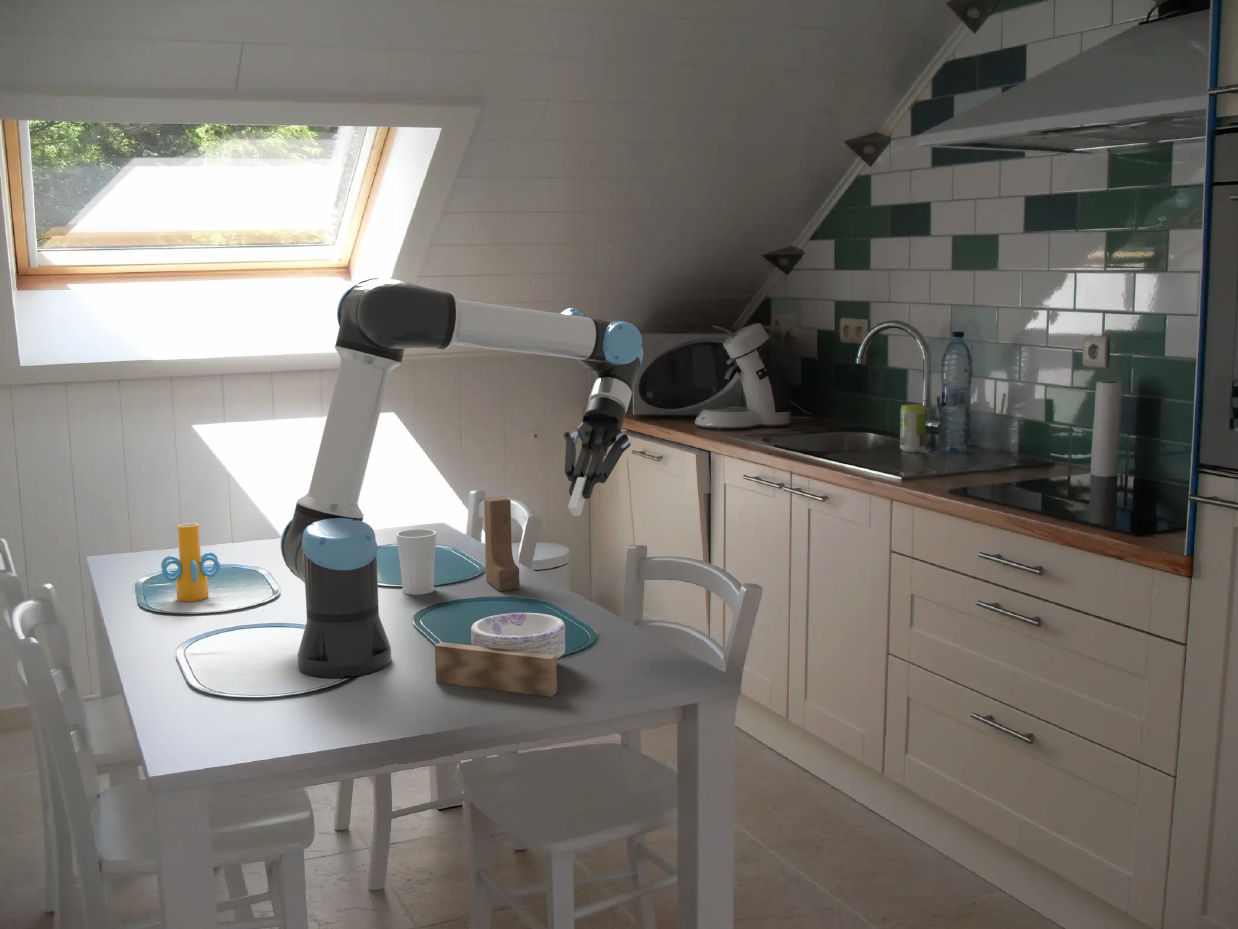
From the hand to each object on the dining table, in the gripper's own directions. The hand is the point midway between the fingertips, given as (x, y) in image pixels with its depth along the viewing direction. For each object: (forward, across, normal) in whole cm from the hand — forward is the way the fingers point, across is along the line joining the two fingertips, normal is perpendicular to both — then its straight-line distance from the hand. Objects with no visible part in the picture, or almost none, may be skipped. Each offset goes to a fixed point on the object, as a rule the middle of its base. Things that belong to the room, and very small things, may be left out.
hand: (574, 511), depth 212 cm
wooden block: (-2, +26, -33) cm, 42 cm away
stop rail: (+38, 0, +7) cm, 38 cm away
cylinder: (+19, +81, -12) cm, 84 cm away
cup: (+5, +41, -27) cm, 49 cm away
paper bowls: (+32, +1, 0) cm, 32 cm away
